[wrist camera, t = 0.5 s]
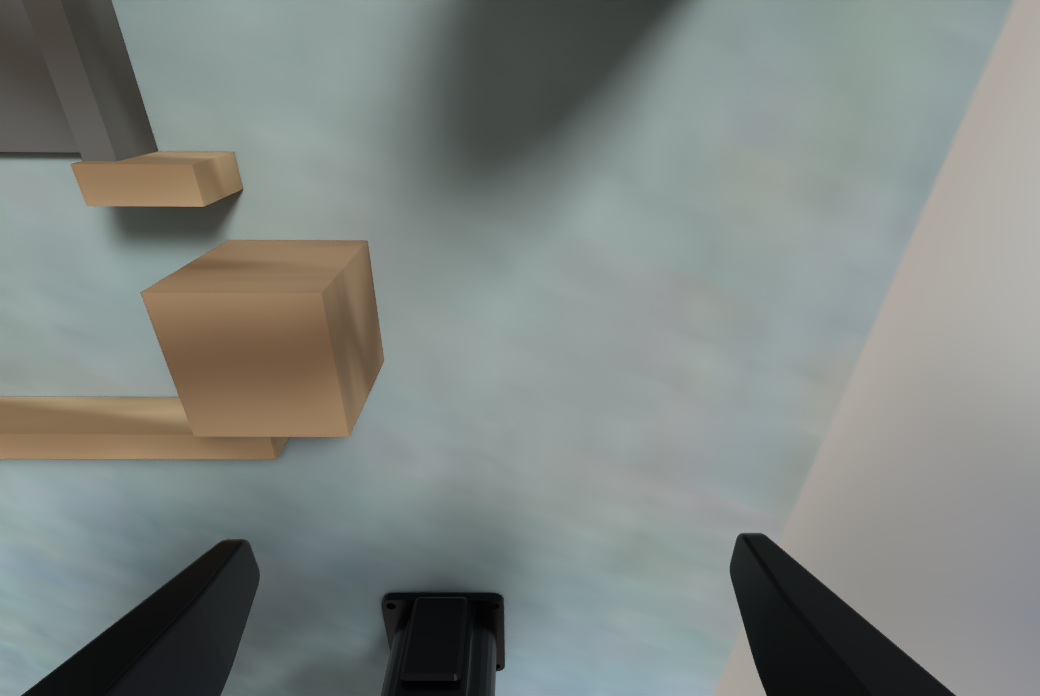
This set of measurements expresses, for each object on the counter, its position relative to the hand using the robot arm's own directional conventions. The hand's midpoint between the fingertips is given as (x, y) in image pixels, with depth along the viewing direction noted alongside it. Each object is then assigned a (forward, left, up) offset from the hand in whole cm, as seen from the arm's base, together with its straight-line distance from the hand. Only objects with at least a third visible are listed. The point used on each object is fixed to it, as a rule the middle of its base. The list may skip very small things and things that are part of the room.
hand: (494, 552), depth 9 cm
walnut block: (0, +7, -12) cm, 14 cm away
